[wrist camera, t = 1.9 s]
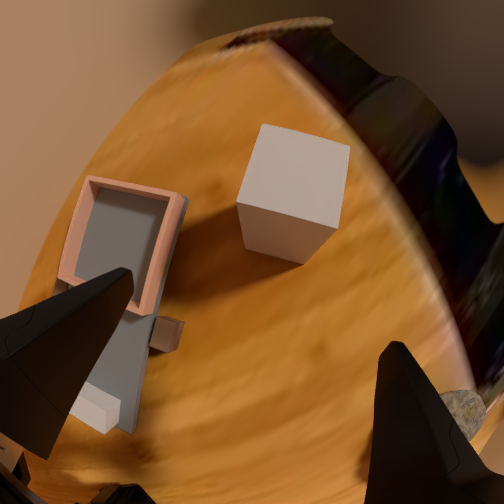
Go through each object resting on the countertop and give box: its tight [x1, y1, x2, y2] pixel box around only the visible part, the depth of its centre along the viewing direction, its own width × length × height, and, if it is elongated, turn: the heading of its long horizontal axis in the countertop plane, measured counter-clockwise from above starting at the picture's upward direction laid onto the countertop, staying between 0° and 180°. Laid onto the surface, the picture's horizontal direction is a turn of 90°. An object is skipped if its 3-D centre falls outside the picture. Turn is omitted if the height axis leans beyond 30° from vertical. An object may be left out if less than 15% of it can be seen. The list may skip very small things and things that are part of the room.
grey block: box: [236, 124, 350, 265], centre depth 18 cm, size 5×5×10 cm
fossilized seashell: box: [439, 390, 486, 441], centre depth 16 cm, size 11×11×7 cm
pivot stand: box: [53, 278, 184, 353], centre depth 20 cm, size 2×13×2 cm, turn 75°
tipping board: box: [57, 175, 189, 435], centre depth 18 cm, size 21×9×4 cm, turn 164°
